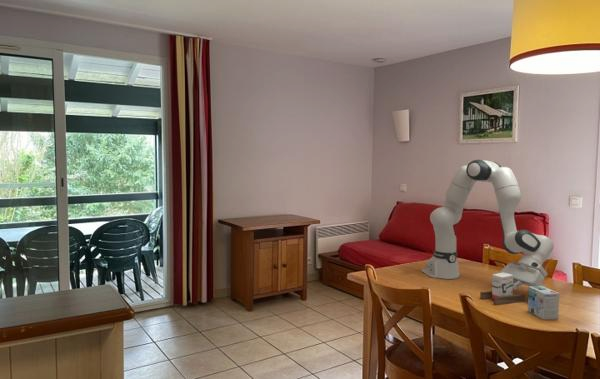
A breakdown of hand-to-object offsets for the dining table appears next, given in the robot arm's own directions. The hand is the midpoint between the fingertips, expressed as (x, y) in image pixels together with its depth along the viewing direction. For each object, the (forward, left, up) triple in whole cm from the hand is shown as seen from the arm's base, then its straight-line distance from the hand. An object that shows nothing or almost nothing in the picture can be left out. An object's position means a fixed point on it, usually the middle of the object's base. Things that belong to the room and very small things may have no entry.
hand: (511, 288), depth 197 cm
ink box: (0, -5, -5) cm, 7 cm away
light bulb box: (+21, -4, -5) cm, 22 cm away
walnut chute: (0, -5, -5) cm, 7 cm away
